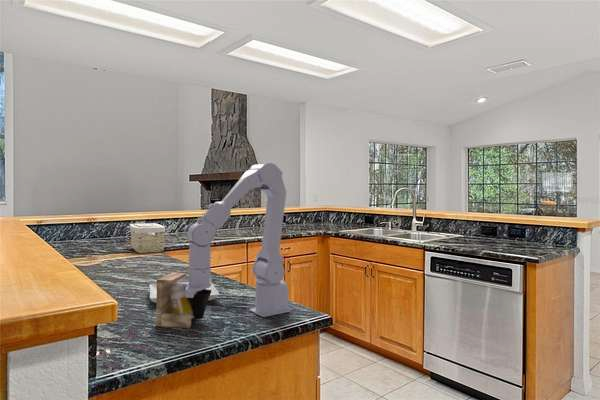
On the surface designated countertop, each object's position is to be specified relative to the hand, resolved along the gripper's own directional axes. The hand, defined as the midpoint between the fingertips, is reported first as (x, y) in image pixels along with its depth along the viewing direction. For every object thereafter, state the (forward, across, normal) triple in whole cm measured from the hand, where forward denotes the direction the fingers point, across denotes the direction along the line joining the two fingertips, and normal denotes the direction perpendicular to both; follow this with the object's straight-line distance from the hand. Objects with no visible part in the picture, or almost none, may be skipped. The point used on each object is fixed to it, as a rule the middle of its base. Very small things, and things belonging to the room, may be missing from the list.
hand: (198, 317), depth 111 cm
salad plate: (+2, -24, -15) cm, 28 cm away
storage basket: (+1, -119, -76) cm, 141 cm away
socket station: (+1, 0, -5) cm, 5 cm away
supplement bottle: (+1, 0, -4) cm, 4 cm away
